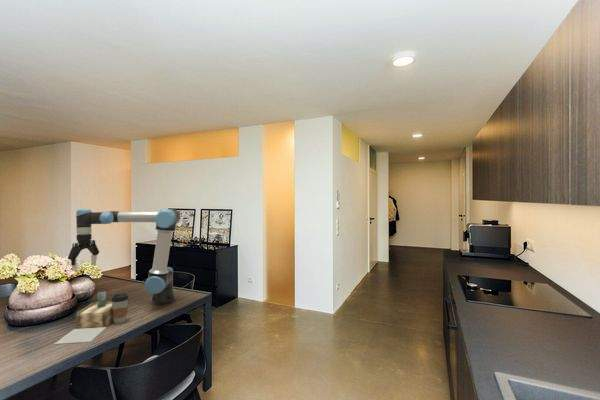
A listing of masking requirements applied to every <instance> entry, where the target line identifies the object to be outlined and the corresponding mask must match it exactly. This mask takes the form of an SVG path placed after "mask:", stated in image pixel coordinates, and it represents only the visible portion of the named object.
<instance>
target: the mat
mask: <svg viewBox="0 0 600 400" xmlns="http://www.w3.org/2000/svg"><path fill="white" fill-rule="evenodd" d="M107 328H108V326H107V327H100V328H83V329H76V328H73V329H72V330H71V331H69V332H68V333H67V334H65V335H64V336H63V337H62V338H60V339H59V340H57V341H56V342H54V343H53V345H69V344H86V343H92V342H93V341H94V340H95V339H96V338H98V337H99V336H100V334H102V333H103V332H104V331H105V330H106V329H107Z"/></svg>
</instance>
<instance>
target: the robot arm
mask: <svg viewBox="0 0 600 400" xmlns="http://www.w3.org/2000/svg"><path fill="white" fill-rule="evenodd" d="M75 219H76V220H75V221H76V241H77V242H73V243H72V247H71V249H70V252H69V254H68V256H67V260H68V261H69V260H70V263H71V264H70V265H71V270H72V271H75V272H76V271H78V259H77V258H78V256H79V255H80V253H81V251H83V250H85V249H86V250H88V251H89V253H91V256H90V263H91V266H97V258H98V257H97V256H98V255H99V253H100V250H99V248H98V245H97V244H96V240H95V239H92V238H93V237H92V225H107V224H109V225H110V224H112V223H155V230H156V231H157V233H156V234H157V235H156V241H155V247H154V255H153V261H152V267H151V269H149V271H148V276H147V279H146V281H144V288H145V290H146V291H147V292H148V293H150V294H152V296H151V299H150V300H151V301H150V302H151V304H153V305H166V304H171V303H173V302H175V301H176V295H175V291H174V289H173V288H174V286H173V285H174V269H173V267H170V266H168V262H169V256H170V249H171V242H172V235H173V233H174V232H176V226H177V225H178V223H179V221H180V219H181V214H180V212H179V210H177V209H174V208H164V209H160V210H159V211H157V210H155V211H150V210H149V211H144V210H143V211H135V210H131V211H130V210H129V211H126V210H125V211H122V210H121V211H119V210H118V211H117V210H111V211H100V212H99V211H95V212H93V211H92V209H90V208H88V209H87V208H83V209H81V208H80V209H77V210H76V214H75Z"/></svg>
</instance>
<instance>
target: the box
mask: <svg viewBox="0 0 600 400" xmlns="http://www.w3.org/2000/svg"><path fill="white" fill-rule="evenodd" d="M94 304H97V302H91V303H90V304H88V305H87V306H85V307H84V308H82V309H81V310H79V311H78V312H76V314H75V315H76V316H75V317H76V319H75V320H76V321H75V322H76V326H75V329H83V328H100V327H107V328H108V327H109V326H110V325H111V324H112V323H114V322H113V314H112V307H111V308H110V309H108V310H107V311H106V312H105V314H99V315H80V313H82V312H83V311H85V310H86V309H88V308H89V307H91V306H92V305H94ZM106 304H112V301H106Z"/></svg>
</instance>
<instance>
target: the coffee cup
mask: <svg viewBox="0 0 600 400" xmlns="http://www.w3.org/2000/svg"><path fill="white" fill-rule="evenodd" d="M110 302H112V314H113V322H112V323H113V324H115V325H116V324H117V325H118V324H123V323H125V322H126V321H127V316H128V315H127V314H128V308H129V307H128V304H129V303H128V302H129V295H128V293H117V294H115V295H112V298H111V301H110Z"/></svg>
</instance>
